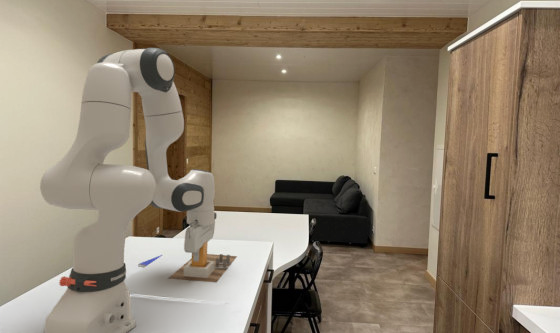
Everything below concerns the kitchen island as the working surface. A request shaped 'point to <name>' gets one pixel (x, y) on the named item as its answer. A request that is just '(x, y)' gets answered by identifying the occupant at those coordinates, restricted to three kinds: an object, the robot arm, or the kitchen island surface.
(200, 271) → the end holder
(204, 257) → the connector plug
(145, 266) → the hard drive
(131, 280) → the kitchen island surface
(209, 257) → the board
